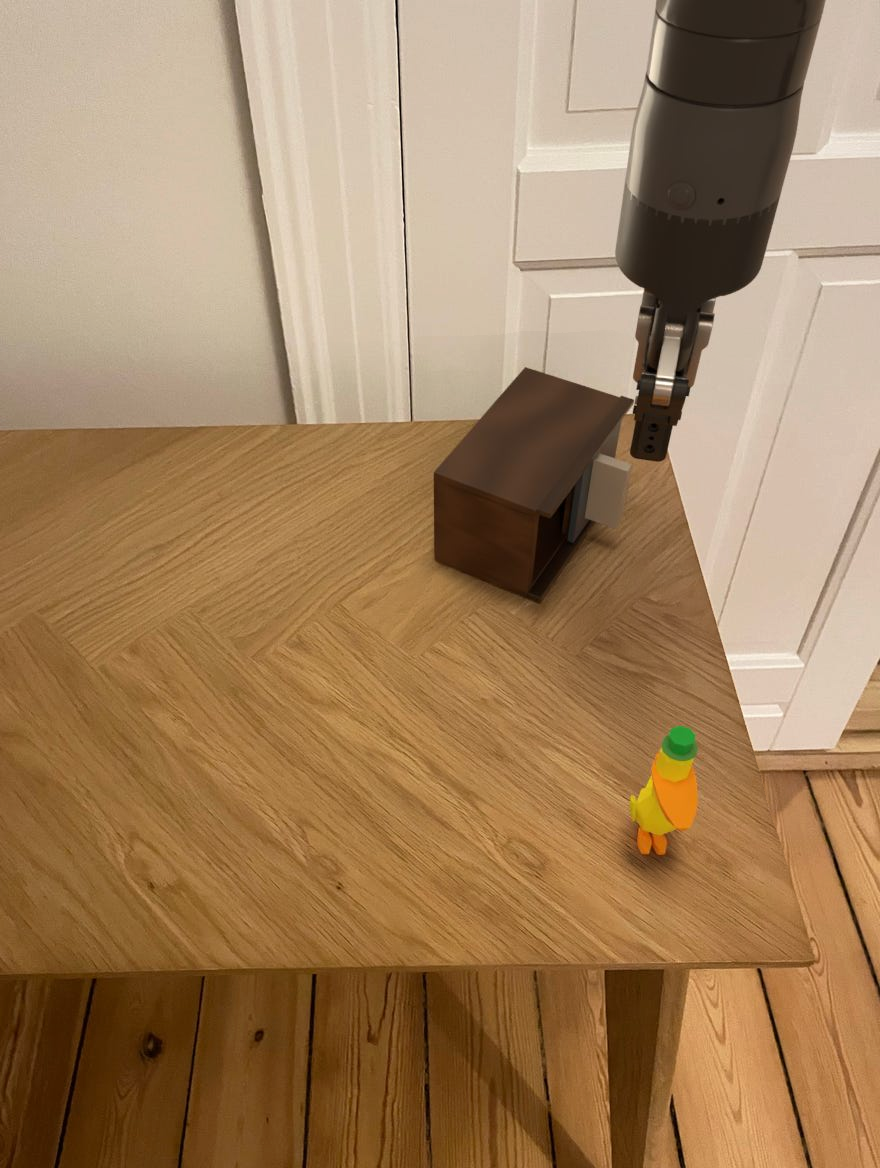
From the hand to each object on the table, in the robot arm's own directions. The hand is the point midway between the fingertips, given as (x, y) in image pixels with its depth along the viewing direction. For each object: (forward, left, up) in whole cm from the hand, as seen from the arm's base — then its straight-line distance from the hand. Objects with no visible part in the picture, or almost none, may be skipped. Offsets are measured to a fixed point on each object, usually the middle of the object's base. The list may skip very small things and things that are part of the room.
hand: (648, 452), depth 61 cm
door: (+6, -13, -20) cm, 25 cm away
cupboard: (+13, -11, -21) cm, 27 cm away
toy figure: (-9, +13, -21) cm, 27 cm away
